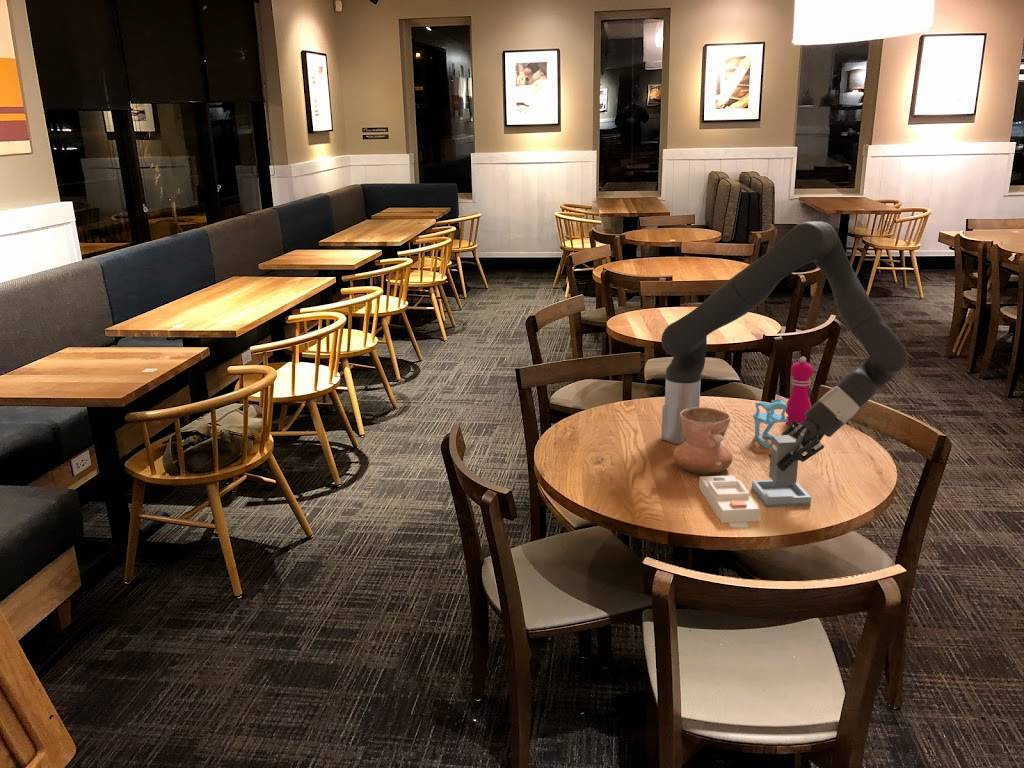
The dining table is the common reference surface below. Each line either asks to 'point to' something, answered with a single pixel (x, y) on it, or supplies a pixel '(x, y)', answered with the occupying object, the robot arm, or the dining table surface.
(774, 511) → the dining table surface
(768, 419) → the chair
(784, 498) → the tray
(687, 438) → the ceramic jug
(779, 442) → the block
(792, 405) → the pepper mill
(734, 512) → the white rectangular base
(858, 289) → the robot arm
